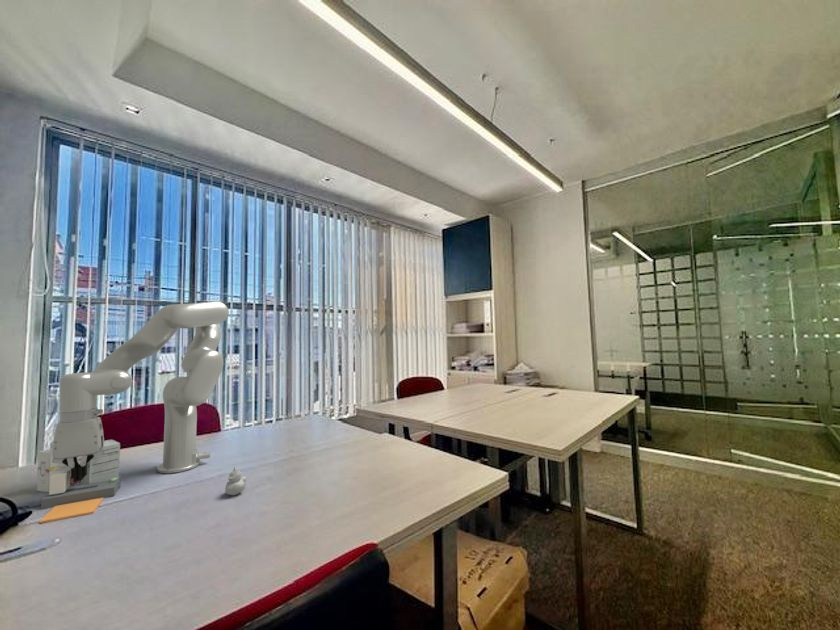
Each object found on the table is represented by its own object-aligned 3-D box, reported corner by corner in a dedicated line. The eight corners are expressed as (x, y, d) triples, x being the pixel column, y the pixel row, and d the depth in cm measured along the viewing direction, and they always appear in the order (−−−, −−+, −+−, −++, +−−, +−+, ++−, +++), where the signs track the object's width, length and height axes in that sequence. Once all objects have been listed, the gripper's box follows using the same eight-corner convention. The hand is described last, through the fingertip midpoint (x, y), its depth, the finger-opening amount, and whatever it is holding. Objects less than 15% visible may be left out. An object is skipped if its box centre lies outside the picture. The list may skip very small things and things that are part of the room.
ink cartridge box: (69, 479, 112) (72, 433, 112) (81, 480, 111) (83, 434, 111) (35, 491, 103) (38, 441, 104) (47, 492, 102) (50, 442, 103)
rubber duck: (219, 496, 99) (220, 468, 100) (238, 487, 106) (239, 460, 106) (233, 499, 98) (234, 470, 98) (252, 489, 104) (252, 462, 104)
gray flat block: (120, 486, 106) (120, 475, 106) (113, 496, 100) (114, 484, 100) (52, 498, 99) (52, 486, 99) (40, 509, 92) (41, 496, 93)
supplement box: (80, 486, 107) (82, 444, 107) (111, 477, 113) (113, 438, 114) (87, 492, 103) (89, 448, 103) (119, 483, 109) (121, 442, 110)
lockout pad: (103, 499, 98) (103, 497, 98) (93, 513, 90) (93, 511, 90) (54, 508, 93) (54, 506, 93) (39, 523, 85) (39, 521, 85)
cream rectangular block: (69, 487, 99) (70, 469, 100) (63, 492, 96) (65, 474, 96) (55, 489, 98) (56, 471, 98) (48, 495, 94) (49, 476, 95)
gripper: (115, 409, 107) (116, 468, 106) (48, 417, 99) (48, 481, 99) (108, 414, 100) (109, 478, 100) (35, 423, 93) (36, 492, 92)
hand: (79, 479), depth 99 cm, fingers closed
